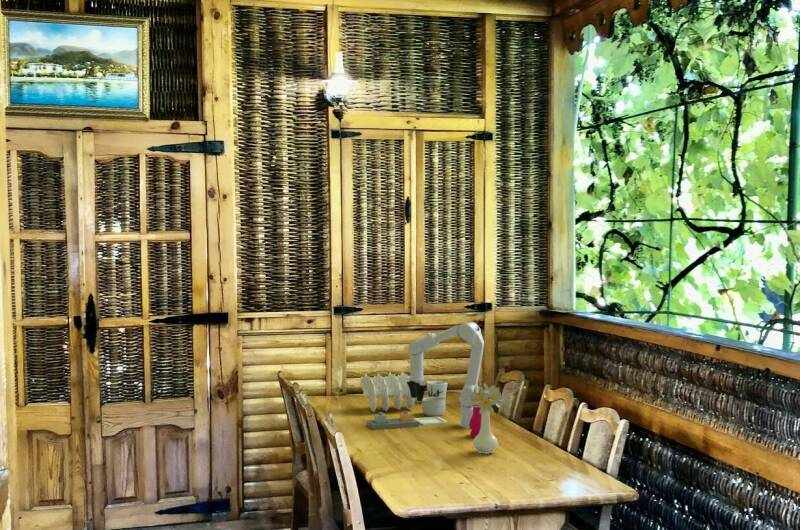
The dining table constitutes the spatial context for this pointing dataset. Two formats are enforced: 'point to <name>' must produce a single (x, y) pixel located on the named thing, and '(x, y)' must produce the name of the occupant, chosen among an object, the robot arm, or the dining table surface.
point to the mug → (436, 388)
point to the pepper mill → (475, 420)
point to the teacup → (433, 406)
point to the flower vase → (486, 417)
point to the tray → (431, 421)
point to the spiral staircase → (387, 390)
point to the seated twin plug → (380, 418)
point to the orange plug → (405, 416)
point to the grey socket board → (392, 424)
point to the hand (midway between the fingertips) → (416, 399)
